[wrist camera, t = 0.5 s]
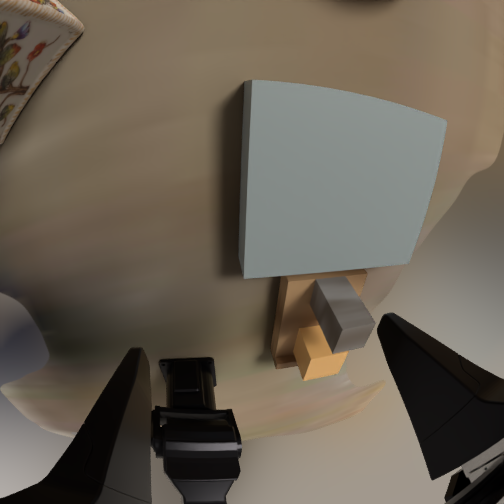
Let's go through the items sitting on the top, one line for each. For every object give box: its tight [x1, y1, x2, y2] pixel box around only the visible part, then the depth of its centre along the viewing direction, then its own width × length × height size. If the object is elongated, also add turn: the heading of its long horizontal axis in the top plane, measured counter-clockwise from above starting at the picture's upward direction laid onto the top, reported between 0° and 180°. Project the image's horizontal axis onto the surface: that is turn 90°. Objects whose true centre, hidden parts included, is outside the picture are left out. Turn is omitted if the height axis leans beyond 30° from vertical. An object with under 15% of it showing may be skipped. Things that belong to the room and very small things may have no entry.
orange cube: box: [293, 325, 349, 381], centre depth 27 cm, size 4×4×4 cm
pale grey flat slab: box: [238, 80, 447, 279], centre depth 20 cm, size 14×16×3 cm
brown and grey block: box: [270, 268, 375, 369], centre depth 26 cm, size 12×8×8 cm, turn 177°
